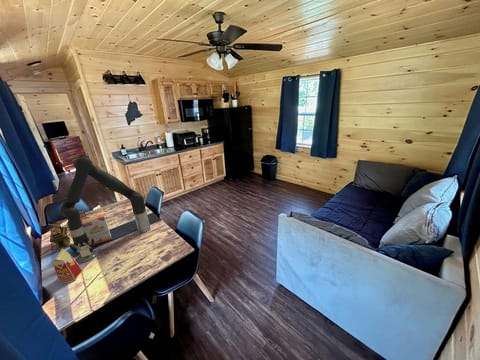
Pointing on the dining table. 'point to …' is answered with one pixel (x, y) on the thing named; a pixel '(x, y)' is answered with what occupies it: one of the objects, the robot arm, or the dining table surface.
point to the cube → (84, 251)
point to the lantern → (83, 216)
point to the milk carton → (66, 267)
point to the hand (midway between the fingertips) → (86, 253)
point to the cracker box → (96, 229)
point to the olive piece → (60, 237)
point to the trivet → (87, 257)
